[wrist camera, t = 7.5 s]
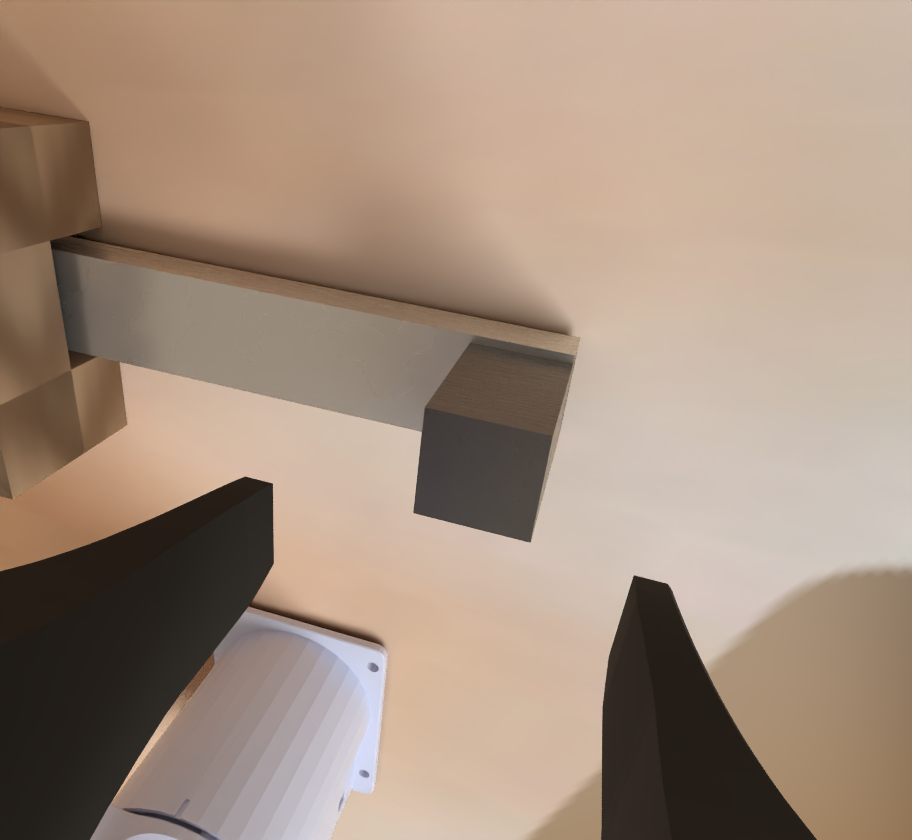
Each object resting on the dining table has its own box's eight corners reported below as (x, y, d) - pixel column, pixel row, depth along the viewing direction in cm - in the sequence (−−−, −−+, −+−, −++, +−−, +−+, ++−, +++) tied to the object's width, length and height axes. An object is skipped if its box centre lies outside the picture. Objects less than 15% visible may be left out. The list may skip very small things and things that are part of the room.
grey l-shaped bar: (558, 439, 22) (528, 550, 17) (-63, 299, 26) (-242, 354, 21) (580, 338, 20) (554, 426, 15) (-87, 205, 24) (-287, 239, 19)
